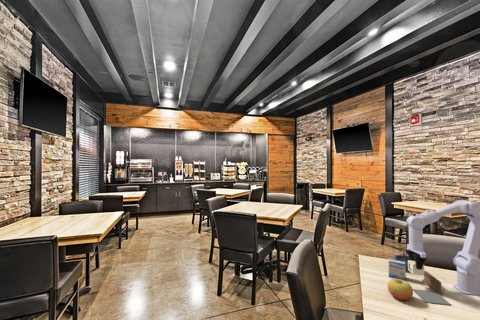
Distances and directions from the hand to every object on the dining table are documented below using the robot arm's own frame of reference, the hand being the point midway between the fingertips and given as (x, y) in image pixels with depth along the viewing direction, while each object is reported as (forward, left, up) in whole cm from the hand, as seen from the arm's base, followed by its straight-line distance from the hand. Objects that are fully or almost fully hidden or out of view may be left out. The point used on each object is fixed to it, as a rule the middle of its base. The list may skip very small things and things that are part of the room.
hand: (416, 266), depth 118 cm
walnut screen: (-7, 0, -10) cm, 12 cm away
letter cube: (0, 0, -3) cm, 3 cm away
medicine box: (+6, -9, -10) cm, 14 cm away
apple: (+13, +13, -10) cm, 21 cm away
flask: (-2, -19, -10) cm, 21 cm away
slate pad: (-1, +10, -10) cm, 14 cm away
